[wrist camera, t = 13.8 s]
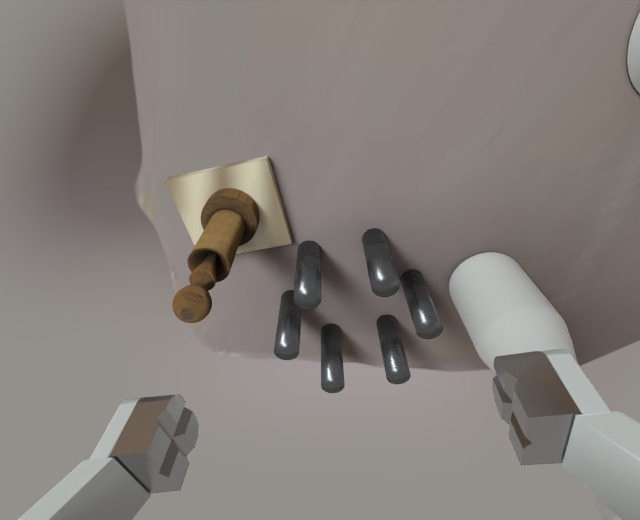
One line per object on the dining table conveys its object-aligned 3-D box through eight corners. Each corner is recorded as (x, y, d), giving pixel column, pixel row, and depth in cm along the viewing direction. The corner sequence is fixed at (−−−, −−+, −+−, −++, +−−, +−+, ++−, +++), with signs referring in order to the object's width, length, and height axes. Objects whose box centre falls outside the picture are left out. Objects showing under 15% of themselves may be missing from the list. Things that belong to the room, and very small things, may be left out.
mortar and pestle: (200, 188, 42) (133, 281, 27) (256, 187, 42) (221, 280, 27) (210, 238, 46) (157, 346, 30) (262, 237, 46) (234, 344, 30)
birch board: (267, 155, 41) (266, 159, 40) (292, 239, 47) (291, 243, 46) (168, 177, 42) (164, 180, 41) (204, 255, 48) (201, 260, 47)
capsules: (418, 220, 46) (440, 264, 37) (425, 323, 55) (444, 377, 47) (263, 248, 48) (252, 297, 39) (296, 343, 57) (292, 398, 49)
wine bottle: (460, 244, 48) (618, 495, 22) (529, 253, 48) (757, 505, 23) (437, 301, 53) (545, 556, 28) (500, 308, 53) (661, 562, 28)
